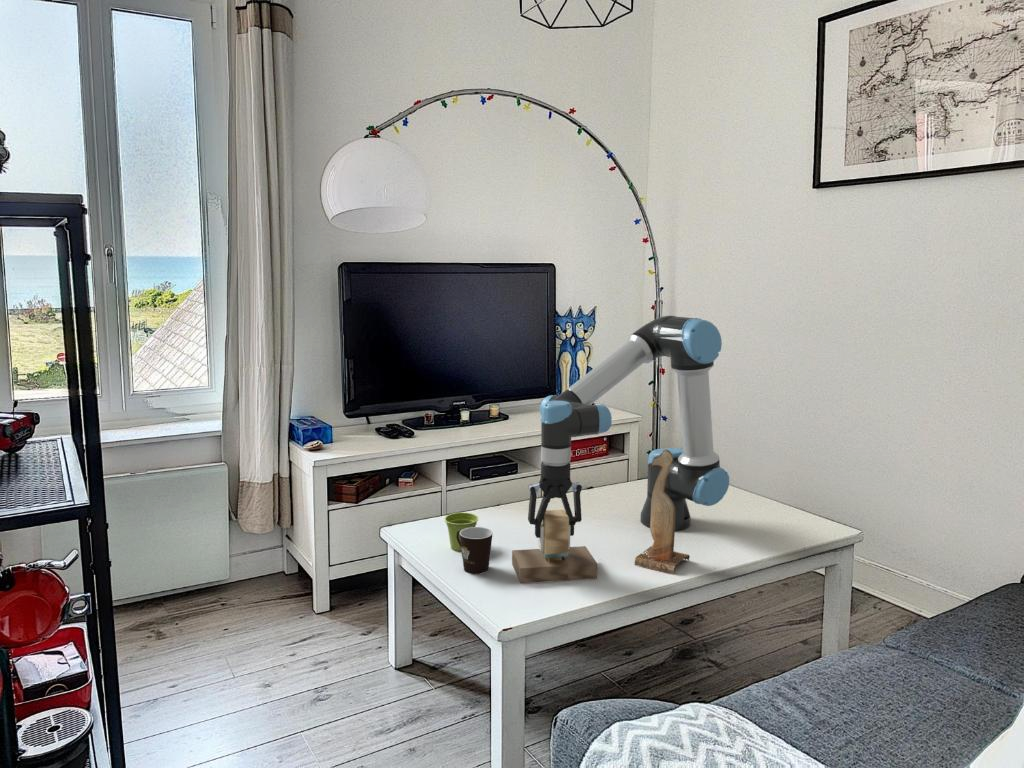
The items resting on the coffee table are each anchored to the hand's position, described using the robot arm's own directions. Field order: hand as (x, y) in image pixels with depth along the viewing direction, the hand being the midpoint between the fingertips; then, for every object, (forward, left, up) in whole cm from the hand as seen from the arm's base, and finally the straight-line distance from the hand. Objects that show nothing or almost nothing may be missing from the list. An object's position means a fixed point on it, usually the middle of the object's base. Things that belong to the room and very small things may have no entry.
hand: (554, 548), depth 203 cm
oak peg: (0, 0, -5) cm, 5 cm away
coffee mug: (+20, -6, -7) cm, 22 cm away
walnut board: (0, 0, -6) cm, 6 cm away
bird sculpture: (-30, -1, -7) cm, 31 cm away
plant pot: (+22, -20, -7) cm, 30 cm away
